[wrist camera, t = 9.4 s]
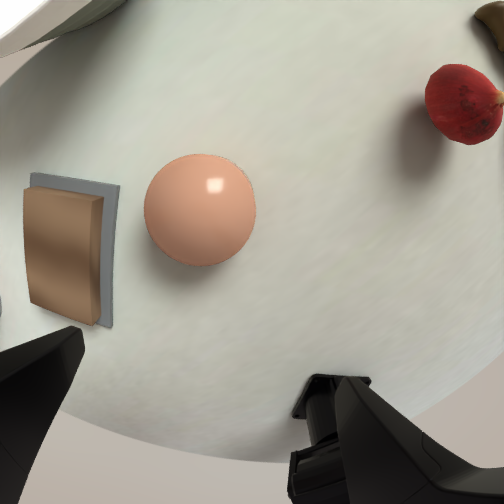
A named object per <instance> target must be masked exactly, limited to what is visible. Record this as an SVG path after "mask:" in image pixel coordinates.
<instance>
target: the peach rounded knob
mask: <svg viewBox="0 0 504 504" xmlns="http://www.w3.org/2000/svg"><path fill="white" fill-rule="evenodd" d="M144 217H145V223H146V226H147V229H148V231H149V234H150V236H151V237H152V239H153V241H154V242H155V243H156V245H157V246H158V247H159V248H160V249H161V250H162V251H163V252H164V253H165V254H167V255H168V256H169V257H171V258H173V259H174V260H176V261H179V262H181V263H184V264H188V265H193V266H209V265H214V264H218V263H220V262H223V261H225V260H227V259H229V258H230V257H232V256H233V255H235V254H236V253H237V252H238V251H239V250H240V249H241V248H242V247H243V246H244V245H245V243H246V242H247V240H248V239H249V237H250V235H251V232H252V230H253V227H254V223H255V217H256V206H255V199H254V193H253V189H252V186H251V183H250V181H249V179H248V177H247V176H246V174H245V173H244V172H243V171H242V170H241V169H240V168H239V167H238V166H237V165H236V164H235V163H233V162H231V161H230V160H228V159H225V158H223V157H219V156H214V155H205V154H193V155H187V156H183V157H180V158H178V159H175V160H173V161H172V162H170V163H168V164H167V165H165V166H164V167H163V168H162V169H161V170H160V171H159V172H158V173H157V174H156V175H155V177H154V178H153V180H152V181H151V183H150V185H149V187H148V190H147V193H146V196H145V201H144Z"/></svg>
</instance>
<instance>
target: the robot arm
mask: <svg viewBox="0 0 504 504" xmlns="http://www.w3.org/2000/svg"><path fill="white" fill-rule="evenodd" d="M84 352H85V344H84V338H83V332H82V330H81V329H80V328H77V327H74V326H69V327H66V328H63V329H61V330H58V331H55V332H53V333H50V334H47V335H45V336H42V337H39V338H37V339H34V340H31V341H29V342H26V343H23V344H21V345H18V346H15V347H13V348H10V349H7V350H5V351H2V352H0V504H18V502H19V499H20V496H21V494H22V491H23V488H24V486H25V483H26V480H27V478H28V474H29V472H30V470H31V467H32V465H33V463H34V460H35V458H36V456H37V453H38V451H39V449H40V447H41V444H42V442H43V440H44V438H45V436H46V434H47V431H48V429H49V427H50V425H51V423H52V421H53V419H54V417H55V415H56V413H57V411H58V409H59V407H60V405H61V403H62V402H63V400H64V398H65V396H66V394H67V392H68V390H69V388H70V386H71V384H72V382H73V379H74V377H75V374H76V372H77V369H78V367H79V365H80V362H81V360H82V358H83V355H84ZM370 384H371V379H370V378H369V377H358V376H340V375H326V374H314V375H312V376H311V378H310V380H309V382H308V384H307V386H306V388H305V390H304V392H303V394H302V396H301V397H300V399H299V401H298V403H297V405H296V407H295V409H294V411H293V412H292V417H293V418H295V419H306V420H307V425H308V430H309V435H310V440H311V445H312V446H311V447H308V448H306V449H303V450H300V451H294V452H291V459H290V466H289V477H288V485H287V492H288V497H289V498H290V499H291V501H292V503H293V504H504V467H501V468H479V467H476V466H473V465H471V464H470V463H468V462H467V461H465V460H463V459H462V458H460V457H458V456H457V455H455V454H454V453H452V452H450V451H449V450H447V449H446V448H444V447H443V446H441V445H440V444H439V443H437V442H435V440H433V439H432V438H431V437H429V436H428V435H427V434H425V433H424V432H422V430H420V429H419V428H418V427H417V426H415V425H414V424H413V423H412V422H410V421H409V420H408V419H407V418H406V417H404V416H403V415H402V414H401V413H399V412H398V411H397V410H396V409H395V408H393V407H392V406H391V405H390V404H388V403H387V402H386V401H385V400H384V399H382V398H381V397H380V396H379V395H378V394H376V393H375V392H374V391H373V390H372V389H370V388H369V385H370Z"/></svg>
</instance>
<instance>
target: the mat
mask: <svg viewBox="0 0 504 504" xmlns="http://www.w3.org/2000/svg"><path fill="white" fill-rule="evenodd" d="M35 186H42V187H48V188H54V189H60V190H67V191H73V192H79V193H84V194H90V195H96V196H102V197H104V204H103V215H102V230H101V252H100V295H101V316H100V317H99V319H98V320H97V321H96V322H95V323H97V324H100V325H103V326H106V327H109V328H111V327H112V326H113V303H112V290H113V256H114V239H115V226H116V216H117V206H118V198H119V190H120V186H119V185H113V184H107V183H101V182H95V181H89V180H82V179H76V178H69V177H62V176H55V175H48V174H41V173H31V175H30V188H31V187H35Z"/></svg>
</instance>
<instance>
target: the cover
mask: <svg viewBox="0 0 504 504" xmlns="http://www.w3.org/2000/svg"><path fill="white" fill-rule="evenodd" d="M103 204H104V197H102V196H96V195H90V194H84V193H79V192H73V191H67V190H60V189H54V188H48V187H42V186H35V187H31V188H27V189H24V199H23V229H24V250H25V263H26V273H27V281H28V288H29V295H30V301H31V303H33V304H35V305H37V306H40V307H42V308H45V309H47V310H50V311H52V312H55V313H57V314H60V315H62V316H65V317H68V318H70V319H73V320H76V321H79V322H82V323H85V324H87V325H90V326H93V325H94V324H95V322H96V321H97V320H98V319H99V317H100V316H101V295H100V252H101V230H102V215H103Z"/></svg>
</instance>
